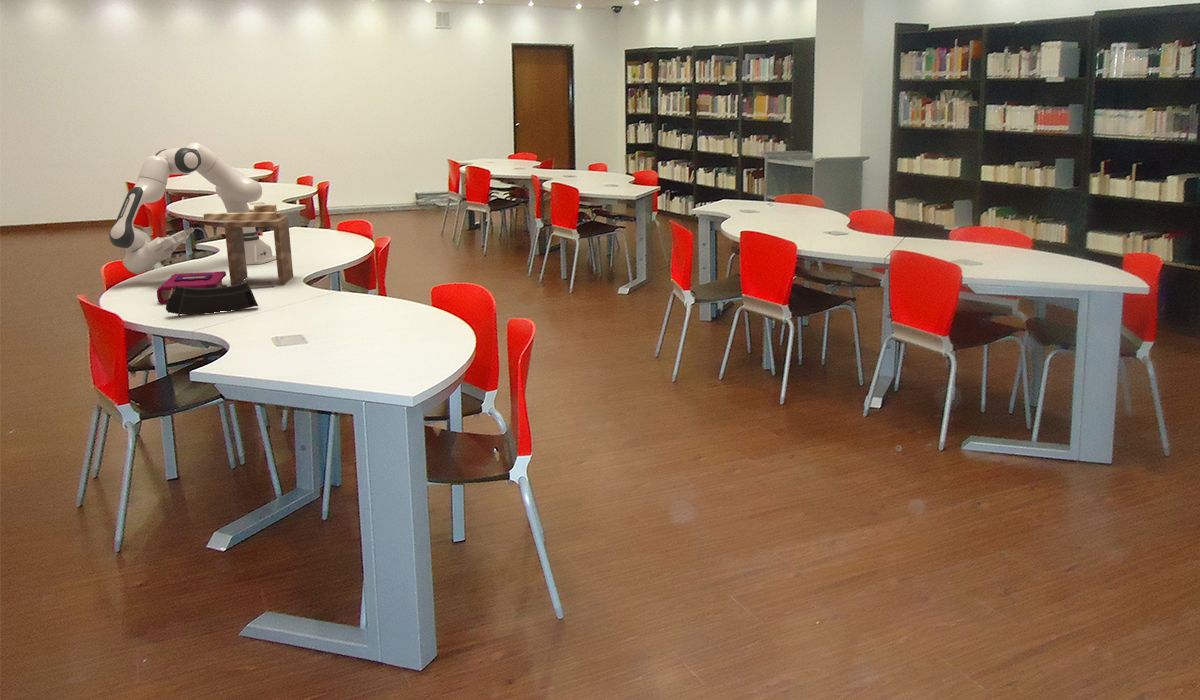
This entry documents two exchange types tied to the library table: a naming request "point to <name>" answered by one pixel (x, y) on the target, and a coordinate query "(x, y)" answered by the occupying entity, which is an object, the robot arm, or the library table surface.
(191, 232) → the robot arm
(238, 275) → the rack
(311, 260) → the library table surface
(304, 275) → the library table surface
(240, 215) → the batten
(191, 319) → the library table surface
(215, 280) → the book
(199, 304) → the magazine
